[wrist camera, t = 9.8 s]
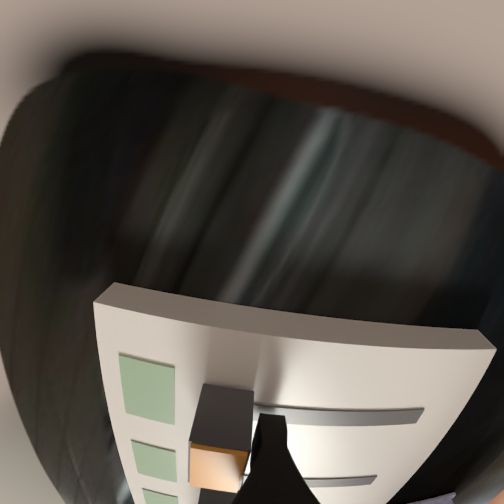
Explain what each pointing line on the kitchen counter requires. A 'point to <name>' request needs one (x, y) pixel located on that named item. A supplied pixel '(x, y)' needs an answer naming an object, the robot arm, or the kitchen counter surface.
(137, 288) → the breaker panel
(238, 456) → the handle
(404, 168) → the kitchen counter surface
